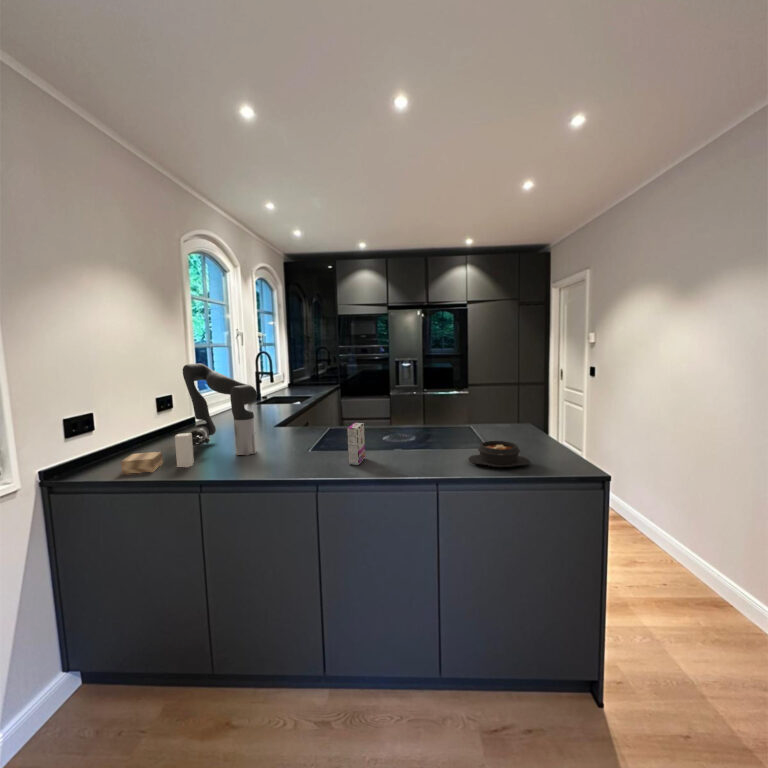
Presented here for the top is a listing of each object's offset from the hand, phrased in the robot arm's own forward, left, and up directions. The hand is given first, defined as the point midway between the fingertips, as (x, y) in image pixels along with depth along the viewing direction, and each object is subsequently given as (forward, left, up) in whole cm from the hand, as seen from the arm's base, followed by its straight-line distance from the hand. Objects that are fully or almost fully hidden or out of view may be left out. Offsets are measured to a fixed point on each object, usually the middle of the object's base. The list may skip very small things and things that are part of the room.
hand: (189, 444), depth 185 cm
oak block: (+17, +9, -8) cm, 21 cm away
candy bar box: (-74, +26, -8) cm, 79 cm away
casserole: (-131, +47, -8) cm, 139 cm away
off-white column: (0, +9, -8) cm, 12 cm away
